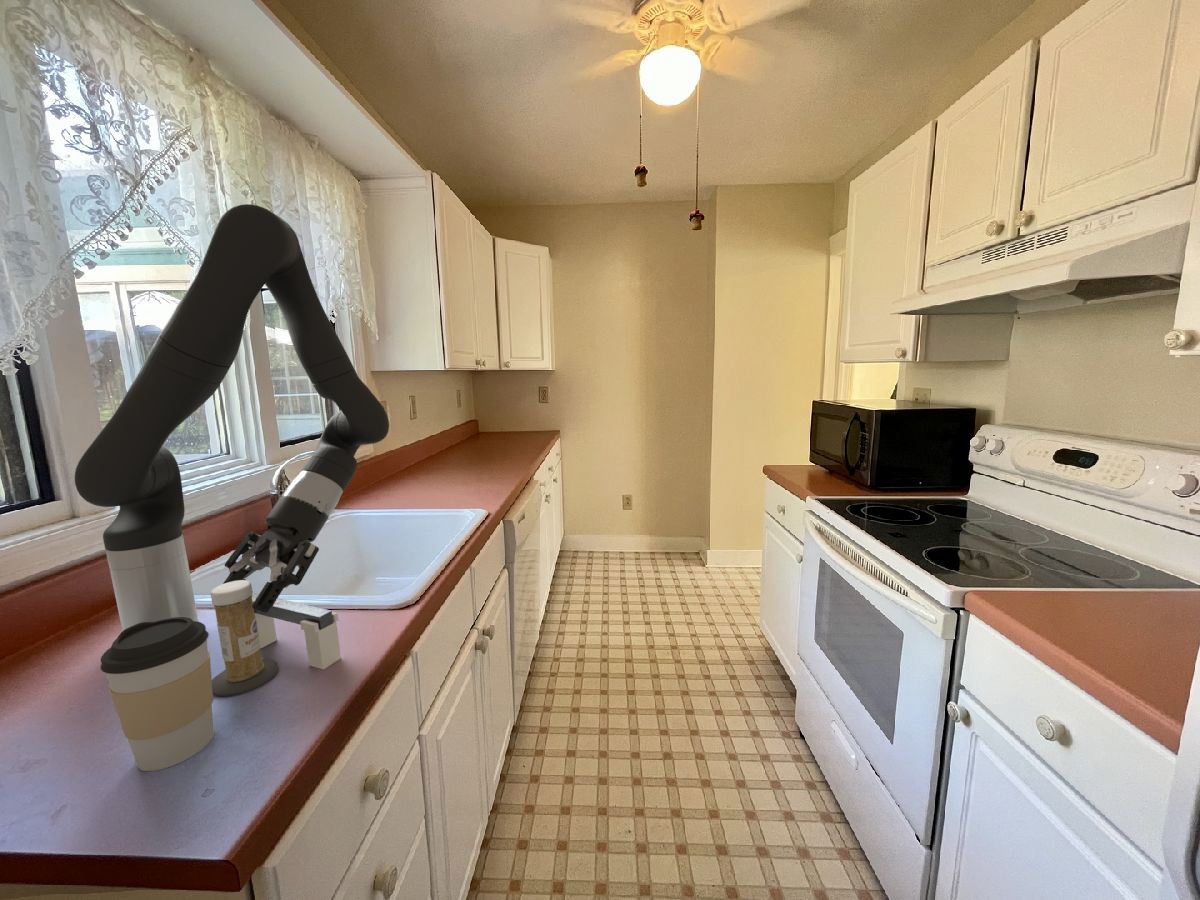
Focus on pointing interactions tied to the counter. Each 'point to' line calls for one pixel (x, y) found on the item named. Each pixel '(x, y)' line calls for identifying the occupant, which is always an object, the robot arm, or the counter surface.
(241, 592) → the sprinkles bottle
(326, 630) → the hurdle posts
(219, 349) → the robot arm
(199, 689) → the coffee cup
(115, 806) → the counter surface
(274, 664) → the rubber mat
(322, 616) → the crossbar
